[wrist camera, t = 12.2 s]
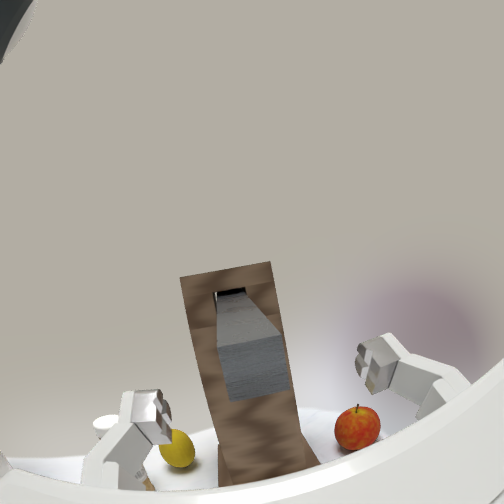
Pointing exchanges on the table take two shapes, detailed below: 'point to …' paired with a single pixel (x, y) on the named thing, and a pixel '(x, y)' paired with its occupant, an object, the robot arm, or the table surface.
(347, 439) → the fruit
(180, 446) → the lemon
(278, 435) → the block
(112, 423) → the sprinkles bottle
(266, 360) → the shaft
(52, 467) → the table surface
